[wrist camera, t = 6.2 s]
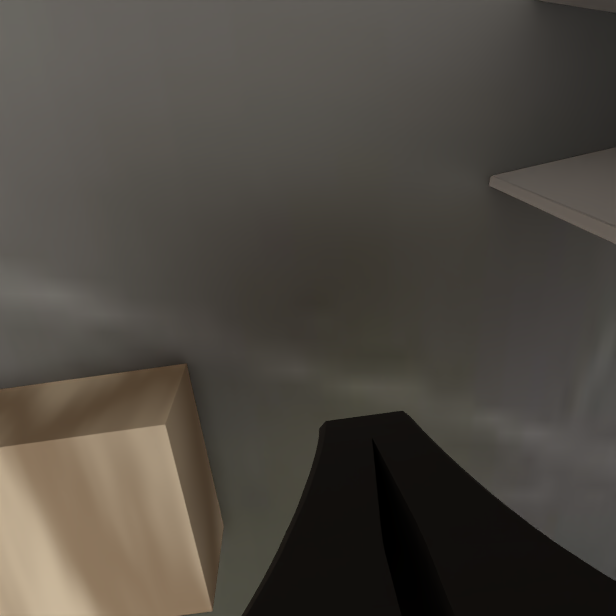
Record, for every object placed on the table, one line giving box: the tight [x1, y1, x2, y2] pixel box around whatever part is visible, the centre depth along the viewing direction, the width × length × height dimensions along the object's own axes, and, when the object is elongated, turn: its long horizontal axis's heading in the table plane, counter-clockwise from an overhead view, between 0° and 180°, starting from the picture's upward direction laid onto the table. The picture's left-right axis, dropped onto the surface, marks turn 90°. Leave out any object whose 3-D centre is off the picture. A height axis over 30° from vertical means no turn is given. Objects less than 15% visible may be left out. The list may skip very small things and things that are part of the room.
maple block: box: [0, 363, 224, 616], centre depth 19 cm, size 4×7×10 cm
